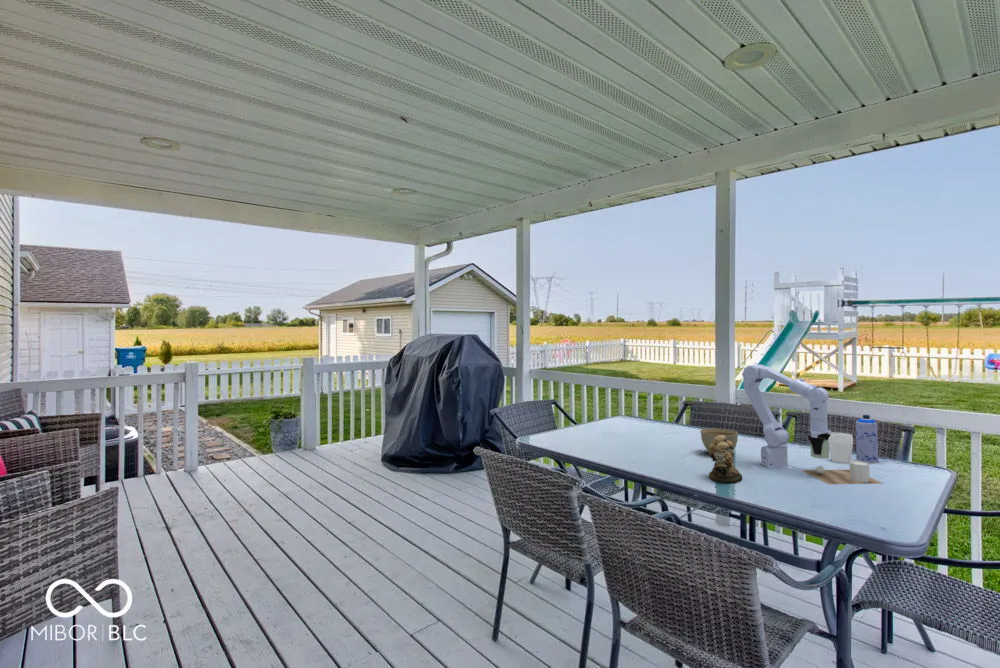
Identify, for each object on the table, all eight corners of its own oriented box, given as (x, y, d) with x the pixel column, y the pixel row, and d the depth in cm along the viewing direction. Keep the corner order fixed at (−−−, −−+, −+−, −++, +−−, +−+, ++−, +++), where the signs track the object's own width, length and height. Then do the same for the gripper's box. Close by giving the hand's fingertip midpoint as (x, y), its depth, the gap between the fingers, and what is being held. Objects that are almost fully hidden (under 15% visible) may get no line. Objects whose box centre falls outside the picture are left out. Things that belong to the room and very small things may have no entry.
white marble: (818, 474, 187) (818, 467, 187) (814, 472, 190) (813, 465, 190) (826, 474, 187) (826, 467, 187) (821, 472, 190) (821, 465, 190)
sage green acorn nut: (817, 458, 186) (816, 441, 186) (808, 455, 191) (807, 438, 191) (831, 458, 186) (831, 441, 186) (822, 454, 191) (822, 438, 191)
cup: (858, 463, 203) (857, 435, 203) (844, 466, 200) (843, 437, 200) (837, 458, 212) (836, 431, 212) (823, 460, 208) (822, 433, 208)
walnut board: (829, 485, 176) (829, 484, 176) (799, 471, 194) (799, 470, 194) (884, 484, 175) (884, 483, 175) (850, 470, 193) (850, 469, 193)
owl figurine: (740, 486, 177) (738, 441, 177) (706, 483, 183) (704, 438, 183) (743, 473, 193) (741, 431, 193) (711, 470, 199) (710, 429, 199)
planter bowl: (727, 461, 212) (726, 436, 212) (694, 454, 225) (693, 431, 225) (745, 455, 222) (744, 431, 222) (712, 448, 235) (712, 426, 235)
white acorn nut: (857, 482, 177) (857, 464, 177) (847, 478, 182) (846, 460, 182) (873, 482, 176) (872, 464, 176) (862, 477, 182) (861, 460, 182)
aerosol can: (871, 458, 210) (869, 413, 210) (883, 463, 202) (882, 416, 202) (852, 458, 211) (850, 413, 211) (863, 463, 203) (862, 416, 203)
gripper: (825, 422, 181) (826, 458, 181) (835, 417, 191) (836, 451, 191) (804, 420, 186) (805, 455, 186) (814, 415, 196) (815, 448, 196)
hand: (819, 452), depth 189 cm, fingers closed on sage green acorn nut, 6 cm apart
